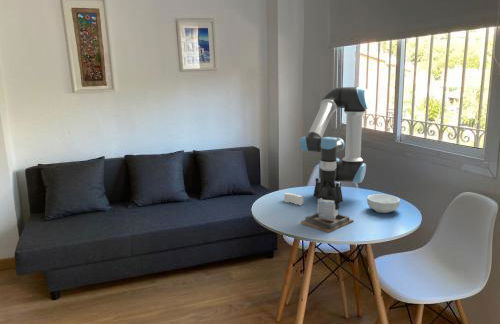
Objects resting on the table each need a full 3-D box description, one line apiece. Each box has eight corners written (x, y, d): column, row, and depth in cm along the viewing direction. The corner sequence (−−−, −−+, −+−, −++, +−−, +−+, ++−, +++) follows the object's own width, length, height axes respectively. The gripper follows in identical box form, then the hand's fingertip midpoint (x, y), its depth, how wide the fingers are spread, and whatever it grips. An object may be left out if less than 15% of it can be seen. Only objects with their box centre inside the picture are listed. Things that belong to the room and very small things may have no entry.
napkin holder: (279, 201, 238) (279, 192, 237) (297, 199, 242) (297, 189, 240) (290, 209, 224) (290, 199, 223) (308, 206, 228) (308, 196, 227)
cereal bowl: (401, 217, 208) (402, 203, 206) (367, 215, 211) (368, 202, 209) (396, 206, 224) (397, 194, 222) (365, 205, 227) (366, 192, 226)
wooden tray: (325, 213, 215) (326, 208, 214) (353, 221, 202) (353, 216, 202) (300, 223, 202) (301, 218, 201) (328, 232, 189) (328, 227, 189)
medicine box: (336, 217, 202) (336, 200, 200) (334, 220, 198) (334, 203, 196) (320, 215, 205) (320, 199, 203) (318, 218, 201) (318, 201, 199)
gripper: (306, 166, 201) (305, 210, 206) (342, 174, 186) (340, 220, 191) (315, 164, 206) (315, 206, 211) (351, 171, 191) (350, 216, 196)
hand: (327, 213), depth 201 cm, fingers closed on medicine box, 9 cm apart
